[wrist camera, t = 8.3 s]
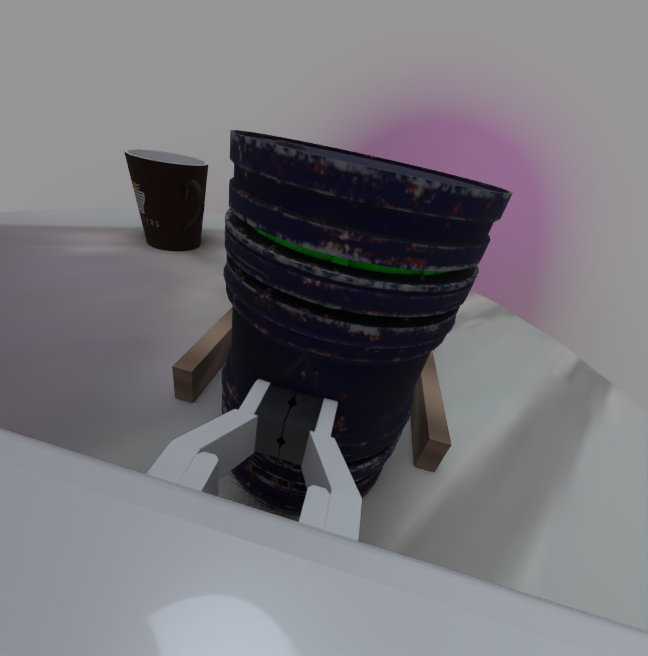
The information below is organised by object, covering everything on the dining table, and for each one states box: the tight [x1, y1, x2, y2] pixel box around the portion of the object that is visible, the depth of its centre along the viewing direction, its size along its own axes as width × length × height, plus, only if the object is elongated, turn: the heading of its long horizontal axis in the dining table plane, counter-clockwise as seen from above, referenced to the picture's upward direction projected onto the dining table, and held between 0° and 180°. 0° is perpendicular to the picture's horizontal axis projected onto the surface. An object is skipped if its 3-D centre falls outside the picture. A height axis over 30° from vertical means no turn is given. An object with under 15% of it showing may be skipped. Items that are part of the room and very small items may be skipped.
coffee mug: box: [124, 149, 208, 251], centre depth 37 cm, size 12×9×10 cm
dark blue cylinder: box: [222, 130, 512, 515], centre depth 15 cm, size 10×10×15 cm
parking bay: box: [172, 308, 451, 472], centre depth 23 cm, size 14×16×8 cm
